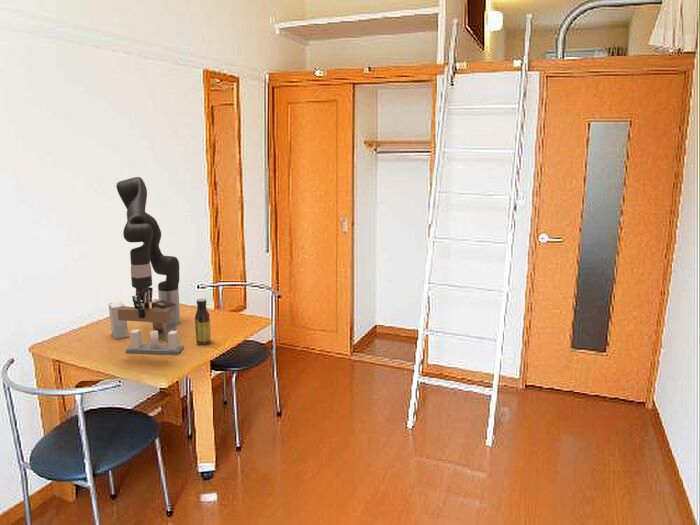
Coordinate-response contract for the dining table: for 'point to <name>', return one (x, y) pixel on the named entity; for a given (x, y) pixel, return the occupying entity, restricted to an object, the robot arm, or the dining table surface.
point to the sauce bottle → (202, 323)
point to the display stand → (154, 344)
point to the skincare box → (117, 321)
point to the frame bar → (150, 315)
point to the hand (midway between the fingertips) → (144, 315)
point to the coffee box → (169, 326)
